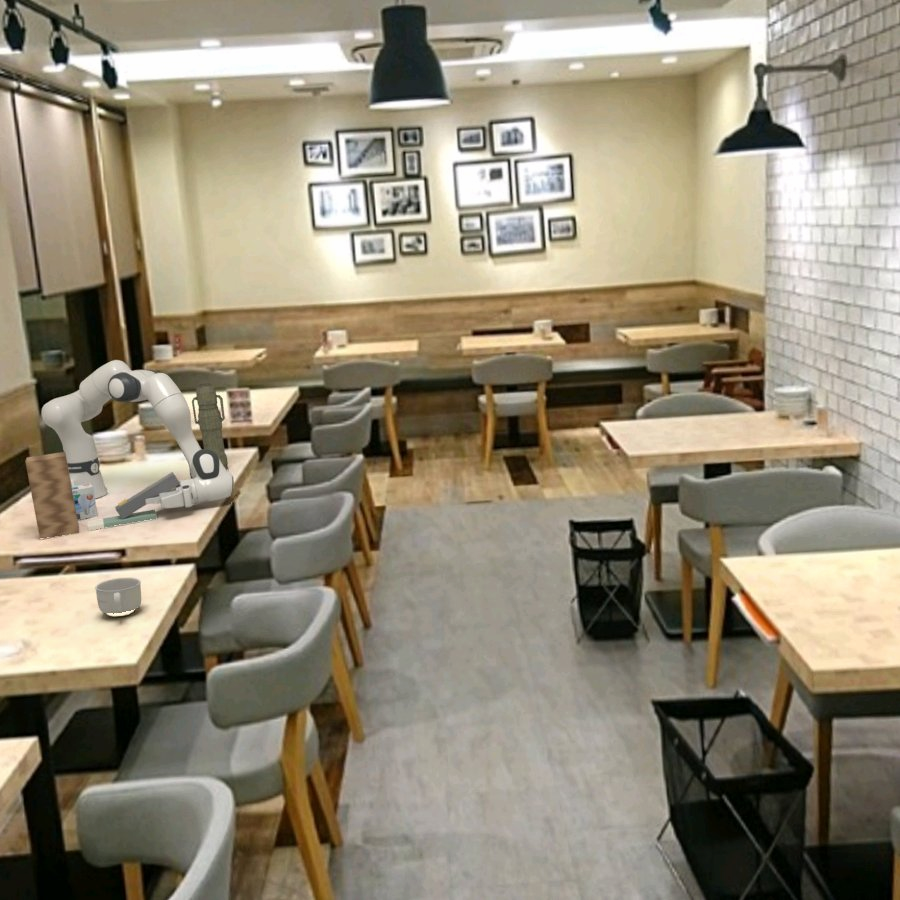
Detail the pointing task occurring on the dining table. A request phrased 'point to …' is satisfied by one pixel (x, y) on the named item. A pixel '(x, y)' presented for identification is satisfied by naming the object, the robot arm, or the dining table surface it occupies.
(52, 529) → the brown wooden block
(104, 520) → the board
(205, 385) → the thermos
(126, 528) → the dining table surface
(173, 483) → the grey rectangular bar
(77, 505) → the light bulb box
